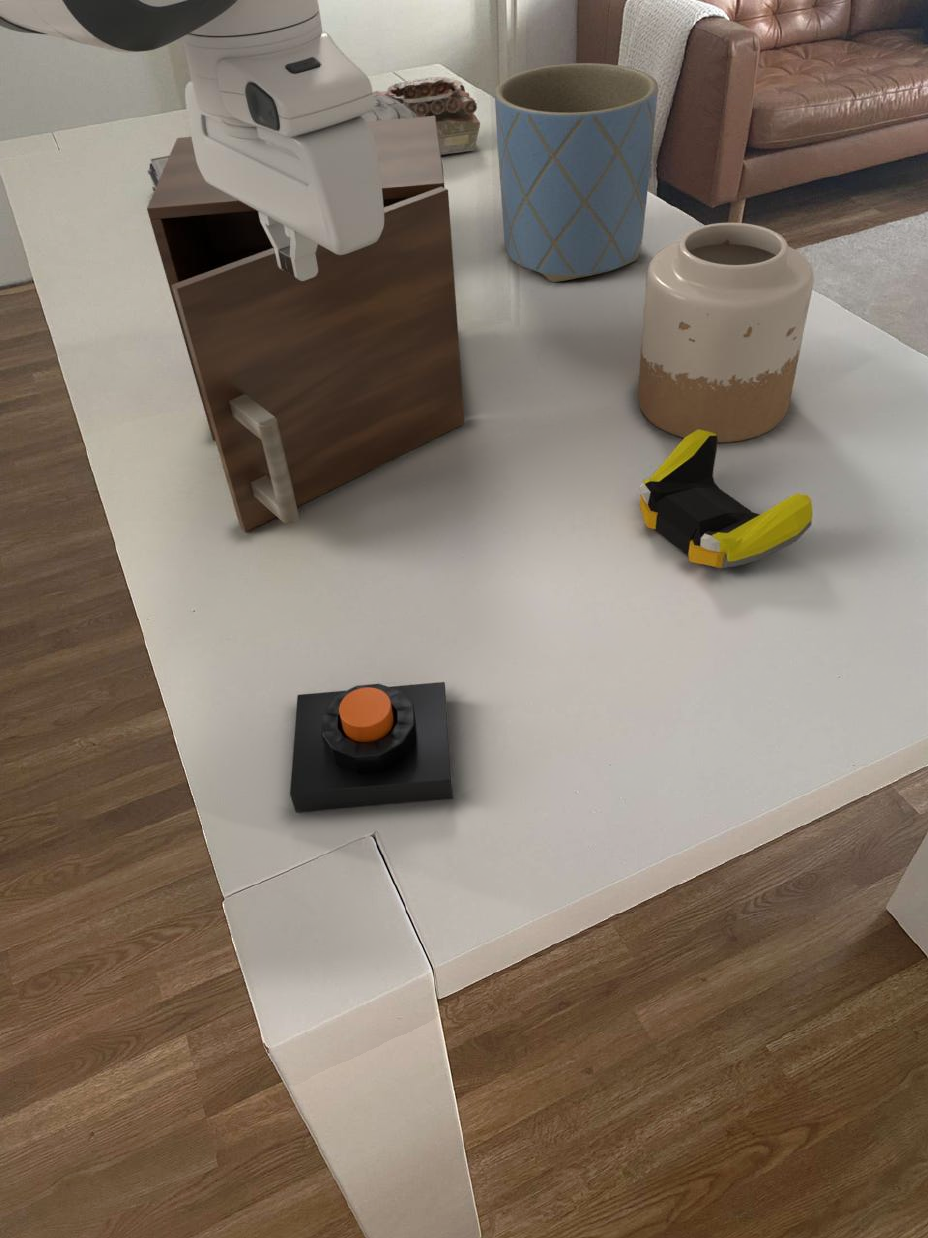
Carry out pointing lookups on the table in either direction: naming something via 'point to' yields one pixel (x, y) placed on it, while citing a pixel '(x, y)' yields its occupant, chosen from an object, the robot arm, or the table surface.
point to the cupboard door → (327, 360)
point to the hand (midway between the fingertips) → (299, 272)
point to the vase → (722, 331)
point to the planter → (575, 166)
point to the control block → (372, 752)
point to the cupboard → (230, 230)
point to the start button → (366, 714)
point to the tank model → (441, 110)
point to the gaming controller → (715, 510)
